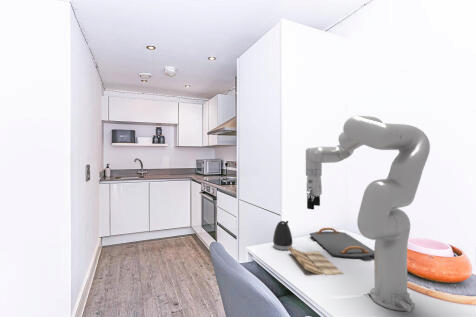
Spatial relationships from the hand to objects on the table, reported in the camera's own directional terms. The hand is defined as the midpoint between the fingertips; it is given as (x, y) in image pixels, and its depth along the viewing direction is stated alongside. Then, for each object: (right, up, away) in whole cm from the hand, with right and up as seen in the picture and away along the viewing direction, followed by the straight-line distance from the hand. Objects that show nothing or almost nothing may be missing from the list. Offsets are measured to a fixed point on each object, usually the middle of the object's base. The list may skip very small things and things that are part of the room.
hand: (313, 207), depth 119 cm
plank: (-8, -23, -10) cm, 26 cm away
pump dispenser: (-13, -25, +10) cm, 30 cm away
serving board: (+18, -25, +13) cm, 34 cm away
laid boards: (+1, -25, -9) cm, 26 cm away
